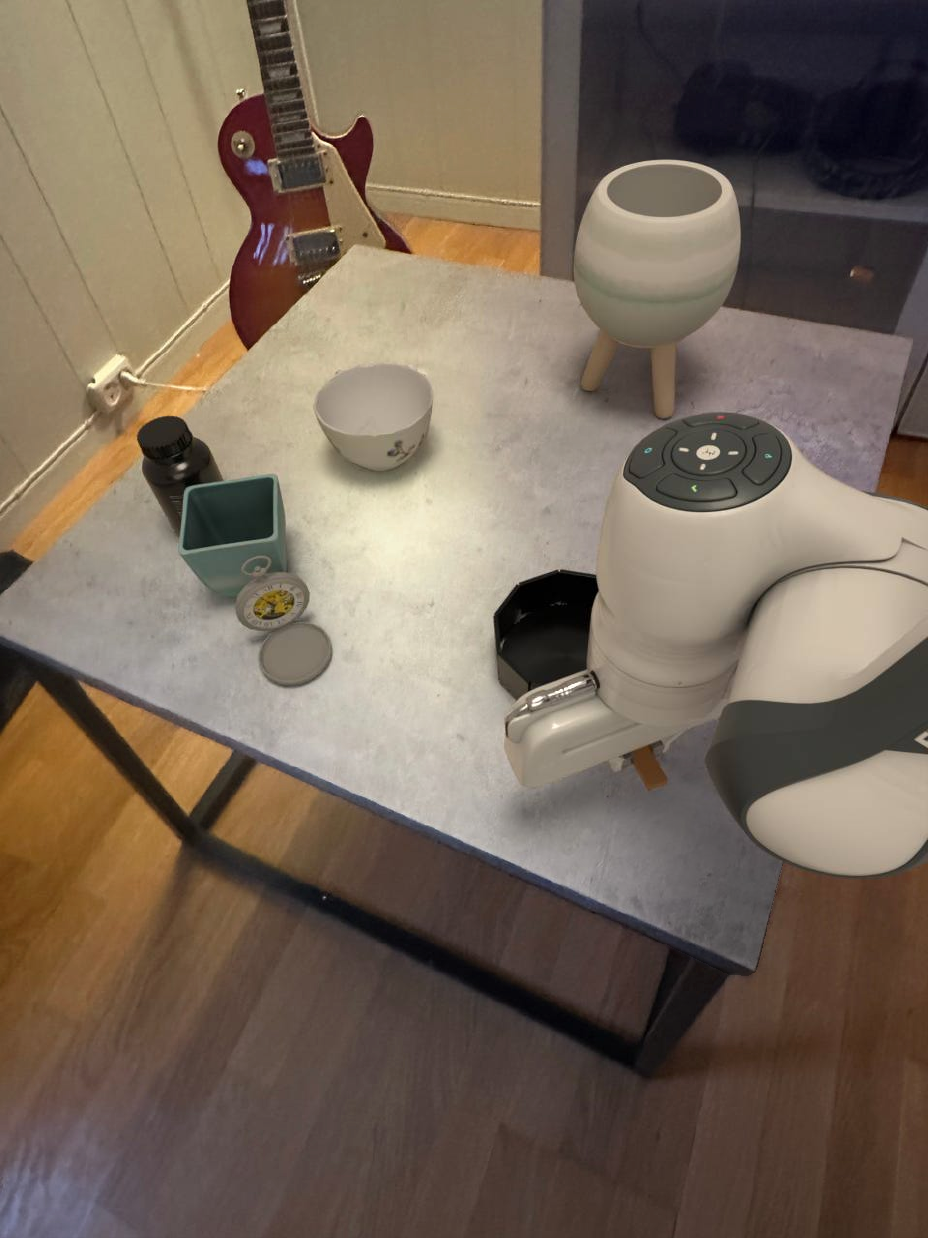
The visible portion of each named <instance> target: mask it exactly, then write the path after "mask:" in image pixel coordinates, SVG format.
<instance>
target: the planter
mask: <svg viewBox="0 0 928 1238" xmlns="http://www.w3.org/2000/svg"><path fill="white" fill-rule="evenodd" d="M578 228H579V229H578V232H577V236H576V242H575V246H574V255H573V280H574V287H575V291H576V294H577V297H578V301H579V302H580V305H581V307H582V309H583V310H584V312H585V313H586V315H587V317H588V318H589V319H590V321H592V322H593V323H594V325H595V326H596V327H598V329H599V330H598V333H597V337H596V338H595V342H594V345H593V348H592V351H591V354H590V356H589V359H588V361H587V364H586V366H585V369H584V373H583V375H582V378H581V382H580V385H581V388H582V389H583V390H584V391H587V392H593V391H596V390H597V389H598V388H599V386H600V384H601V382H602V379H603V378H604V376H605V373H606V372H607V370H608V368H609V365H610V364H611V361H612V359H613V357H614V355H615V352H616V351H617V348H618V345H619V344H621V345H624V346H627V347H628V346H629V347H631V348H637V349H639V348H640V349H650V359H651V377H652V391H653V392H652V393H653V406H654V414H655V415H656V416H657V417H658V418H661V419H668V418H670V417H671V416H673V414H674V413H675V402H676V401H675V400H676V399H675V398H676V397H675V395H676V393H675V392H676V355H677V353H676V351H677V343H679V342H681V341H683V340H684V339H685V338H687V337H688V336H690V335H692V334H693V333H695V332H697V331H698V330H699V329H701V328H702V327H703V326H705V325H706V324H707V323H708V322H709V321H710V320H711V319H712V318H713V317H714V316H716V314H717V313H718V311H720V309H721V307H722V306H723V304H724V303H725V302H726V300H727V298H728V296H729V294H730V291H731V290H732V287H733V284H734V281H735V278H736V275H737V271H738V266H739V261H740V253H741V238H742V234H741V233H742V232H741V219H740V210H739V205H738V201H737V197H736V193H735V191H734V188H733V186H732V184H731V181H730V180H729V179H728V178H727V177H726V176H725V175H723V174H722V173H721V172H719V171H718V170H716V169H714V168H712V167H709V166H706V165H704V164H701V163H697V162H692V161H687V160H680V159H651V160H643V161H639V162H634V163H630V164H627V165H623V166H621V167H619V168H617V169H615V170H613V171H611V172H609V173H608V174H607V175H605V176H604V177H603V178H602V179H601V180H600V181H599V183H598V184H597V186H596V187H595V189H594V191H593V193H592V194H591V197H590V199H589V200H588V202H587V205H586V207H585V210H584V212H583V215H582V218H581V221H580V225H579V227H578Z"/></svg>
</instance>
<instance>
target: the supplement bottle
mask: <svg viewBox="0 0 928 1238" xmlns="http://www.w3.org/2000/svg"><path fill="white" fill-rule="evenodd" d="M136 442H137V444H138V446H139V448H140V450H141V453H142V455H143V459H142V462H141V472H142V475H143V477H144V479H145V481H146V482H147V484H148V486H149V488H150V490H151V491H152V494H153V495H154V497H155V499H156V500H157V503H158V504H159V506H160V508H161V509H162V511H163V513H164V515H165V516H166V518H167V521H168V522H169V524H170V525H171V527H172V529H173V530H174V533H176V535H178V536H179V537H180V530H181V522H182V511H183V498H184V491H185V489H186V488H187V487H190V486H194V485H199V484H208V483H213V482H220V481H225V479H224V477H223V474H222V472H221V470H220V469H219V466H218V464H217V462H216V460H215V457H214V454H213V452H212V451H211V449H210V447H209V446H208V445H207V443H205V442H204V441H203V440H201V439H200V438H197V437H195V436H194V435H193V433H192V431H191V430H190V428H189V426H188V423H187V422H186V421H185V420H184V419H183V418H181V417H179V416H177V415H163V416H158V417H156V418H153V419H151V420H149V421H148V422H146V423H144V425H142V426H141V428H139V429H138V432H137V434H136Z"/></svg>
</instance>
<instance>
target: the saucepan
mask: <svg viewBox="0 0 928 1238" xmlns="http://www.w3.org/2000/svg"><path fill="white" fill-rule="evenodd" d="M598 591H599V589H598V584H597V579H596V573H595V574H594V573H588V572H581V571H575V570H569V569H562V568H560V569H554V570H552V571H549V572H545V573H543V574H540V575H537V576H534V577H531V578H528V579H525V580H522V581H520V582H518V584H515V586H514V587H512V589H511V591H510V592H509V593H508V595H507V596H506V597H505V598H504V600H503V601H502V603H501V604H500V605H499V606H498V608H497V609H496V610H495V612H494V613H493V616H492V618H493V632H494V633H493V634H494V645H495V648H494V649H495V657H496V658H495V659H496V670H497V681H499V684H501V686H502V687H503V688H504V689H505V690H507V692H508V693H510V695H511V696H513V697H514V698H515V700H516V701H517V700H518V699H519V698H520V697H521V696H523V695H524V694H526V693H527V692H529V691H531V690H533V689H536V688H538V687H540V686H543V685H546V684H549V683H551V682H554V681H557V680H559V679H562V678H565V677H568V676H570V675H573V674H576V673H578V672H581V671H584V670H586V669H587V651H588V641H589V631H590V622H591V613H592V607H593V603H594V600H595V597H596V595H597V593H598ZM521 616H522V617H521ZM502 642H503V643H502ZM501 643H502V645H501ZM632 753H633V754H634V760H633V761H632V762H633V764H632V766H633V768H634V769H635V772H636V773H637V775H638V777H639V778H640V780H641V782H642V783H643V785H644V788H645V789H646V790H647V792H651V791H654V790H656V789H659V788H661V787H664V786H666V785H668V783H669V778H668V776H667V775H666V773H665V771H664V769H663V767H662V765H661V763H659V761H658V759H657V757H656V755H655V756H654V754H653V752H652V751H651V749H650V747H649V746H648V745H647V746H644V747H642V748H639V749H637V750H634V751H632Z"/></svg>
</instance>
